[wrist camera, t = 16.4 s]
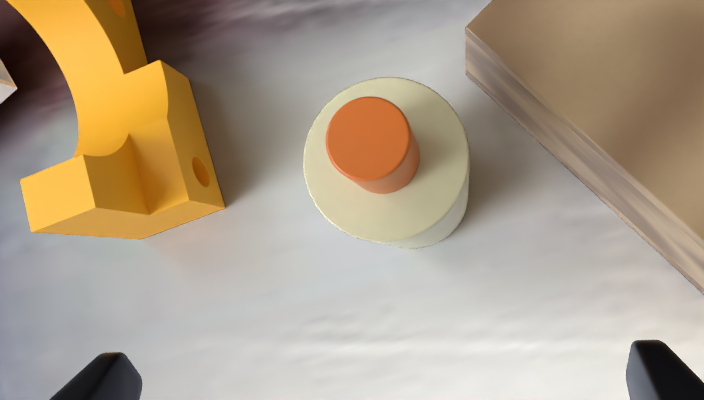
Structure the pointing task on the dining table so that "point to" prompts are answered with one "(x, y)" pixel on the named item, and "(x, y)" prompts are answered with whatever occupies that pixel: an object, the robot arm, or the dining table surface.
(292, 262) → the dining table surface
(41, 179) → the pipe clamp
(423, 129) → the glue bottle
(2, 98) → the charging cable
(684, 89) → the cabinet
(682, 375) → the robot arm
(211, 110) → the dining table surface
